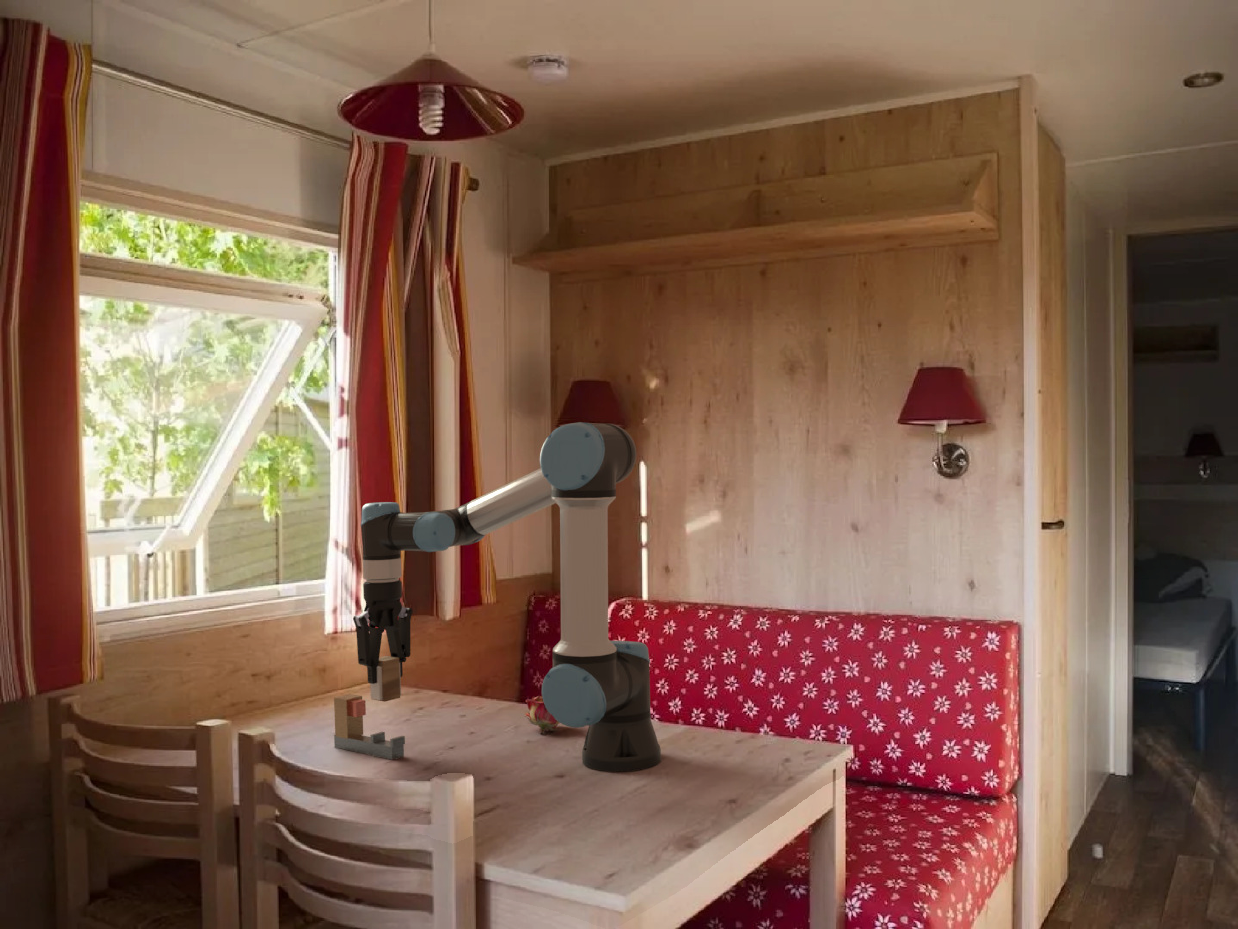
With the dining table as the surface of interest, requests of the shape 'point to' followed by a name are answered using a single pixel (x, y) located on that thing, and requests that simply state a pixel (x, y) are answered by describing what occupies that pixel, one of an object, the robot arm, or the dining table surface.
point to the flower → (540, 714)
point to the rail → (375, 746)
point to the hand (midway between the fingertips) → (385, 696)
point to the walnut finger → (390, 677)
